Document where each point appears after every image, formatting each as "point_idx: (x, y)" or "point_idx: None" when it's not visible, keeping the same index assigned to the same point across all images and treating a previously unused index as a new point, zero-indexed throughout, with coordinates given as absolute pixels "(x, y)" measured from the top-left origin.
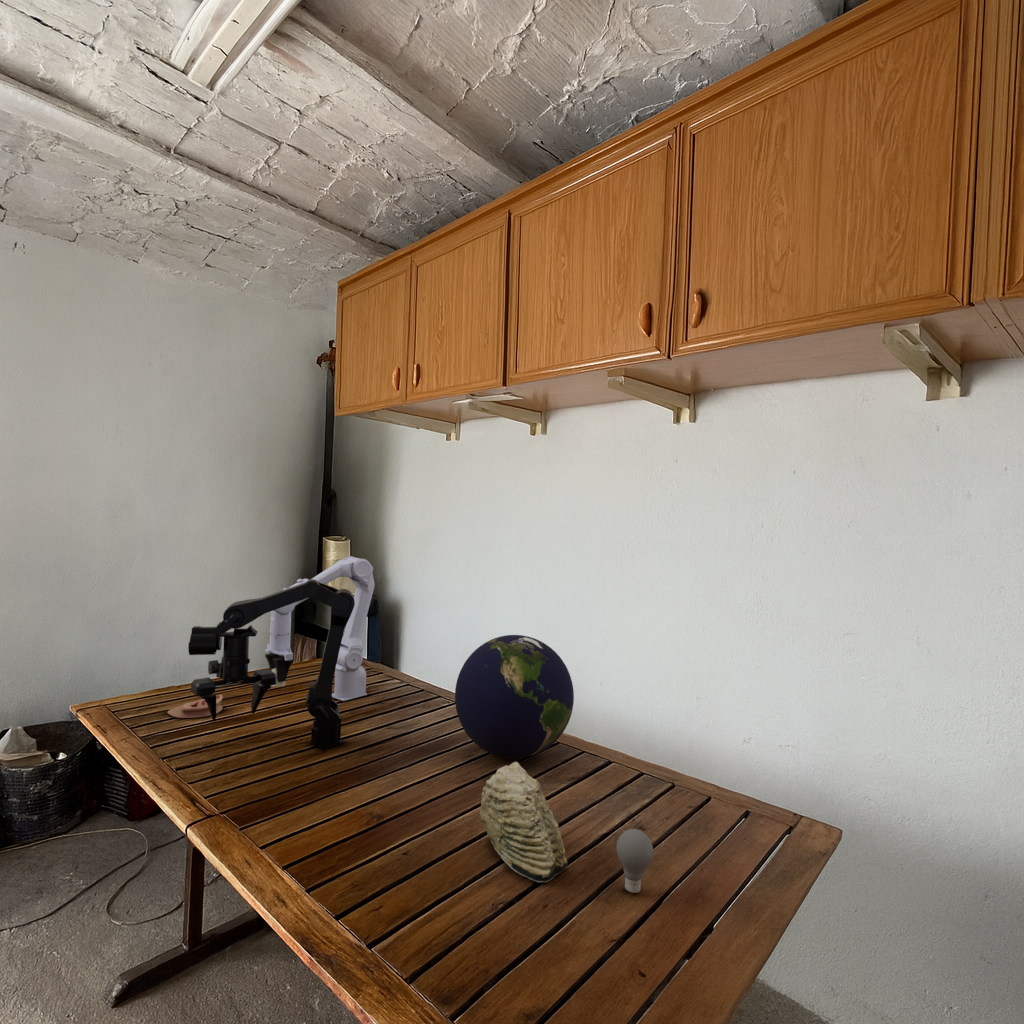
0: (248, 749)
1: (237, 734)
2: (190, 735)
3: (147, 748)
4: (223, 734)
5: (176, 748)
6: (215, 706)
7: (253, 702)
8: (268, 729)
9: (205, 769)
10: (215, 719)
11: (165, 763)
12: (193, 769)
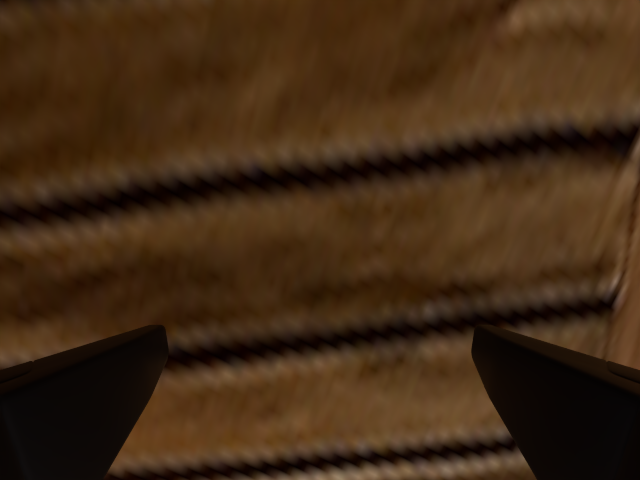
0: (253, 193)
1: (247, 395)
2: (417, 473)
3: None
4: (300, 422)
5: None
6: (594, 375)
7: (113, 402)
8: None
9: (530, 48)
10: (483, 326)
11: (632, 243)
12: (575, 87)
